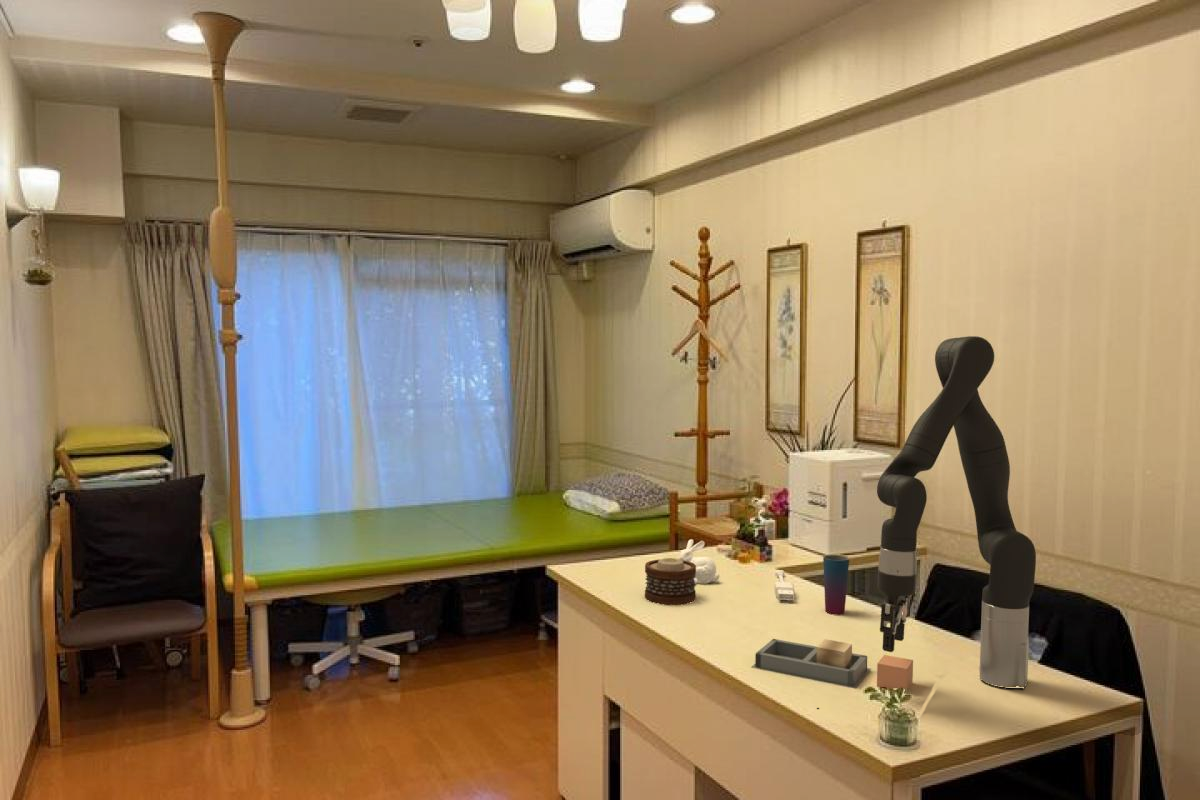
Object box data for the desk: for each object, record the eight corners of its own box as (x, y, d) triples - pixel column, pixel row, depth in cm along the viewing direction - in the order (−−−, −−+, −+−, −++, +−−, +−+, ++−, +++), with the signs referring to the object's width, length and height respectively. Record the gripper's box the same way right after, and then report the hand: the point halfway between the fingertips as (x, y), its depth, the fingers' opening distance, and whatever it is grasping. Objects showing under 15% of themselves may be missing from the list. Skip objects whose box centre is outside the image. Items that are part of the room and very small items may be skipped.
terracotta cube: (912, 687, 190) (913, 660, 190) (906, 697, 185) (907, 668, 185) (883, 682, 193) (884, 654, 193) (876, 691, 188) (877, 663, 188)
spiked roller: (670, 551, 265) (707, 561, 254) (669, 587, 266) (707, 598, 254) (633, 559, 255) (671, 569, 244) (633, 596, 256) (670, 608, 245)
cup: (830, 616, 238) (831, 561, 237) (817, 609, 245) (818, 555, 244) (852, 615, 240) (854, 559, 239) (839, 607, 246) (840, 553, 245)
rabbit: (677, 582, 271) (677, 543, 270) (685, 575, 280) (685, 537, 279) (716, 586, 267) (717, 546, 266) (723, 578, 275) (724, 540, 275)
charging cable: (787, 577, 282) (787, 566, 282) (795, 603, 250) (795, 591, 250) (770, 576, 283) (771, 566, 282) (776, 602, 250) (777, 590, 250)
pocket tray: (871, 673, 198) (871, 655, 198) (855, 692, 187) (855, 674, 187) (771, 654, 210) (771, 637, 209) (750, 671, 198) (751, 653, 198)
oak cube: (851, 670, 197) (852, 643, 196) (843, 679, 191) (844, 652, 191) (824, 665, 200) (825, 639, 199) (816, 674, 195) (816, 647, 194)
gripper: (907, 579, 180) (903, 659, 181) (923, 565, 192) (919, 639, 193) (870, 573, 184) (866, 651, 185) (887, 560, 196) (883, 632, 197)
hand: (893, 645), depth 189 cm, fingers open, 8 cm apart
